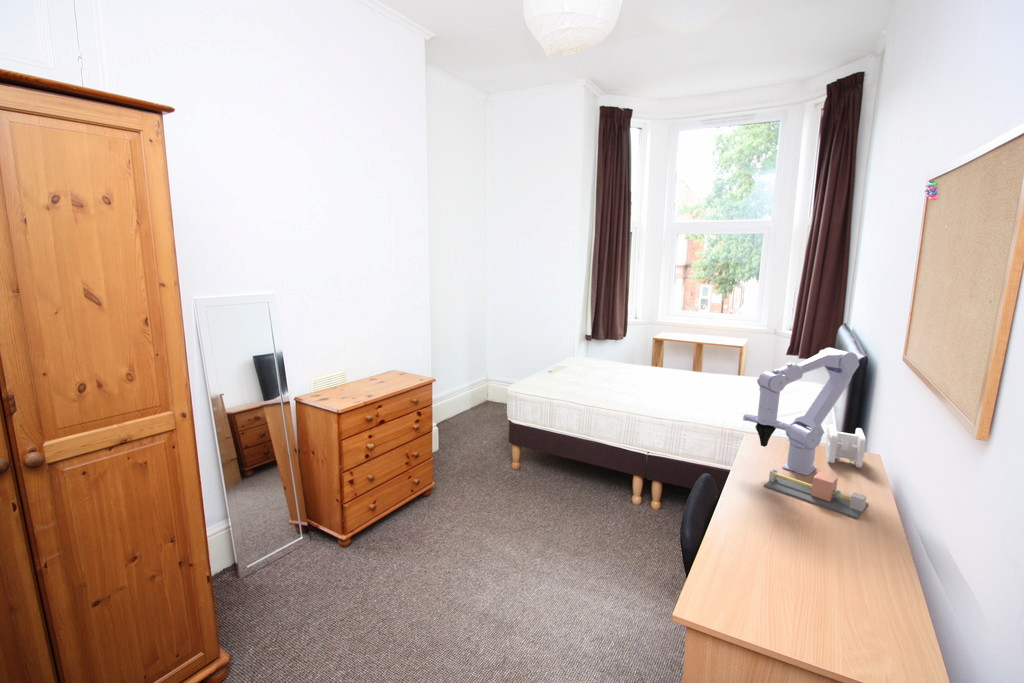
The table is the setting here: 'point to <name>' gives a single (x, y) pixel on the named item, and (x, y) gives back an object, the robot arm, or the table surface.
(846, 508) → the cord rig
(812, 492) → the marker sleeve
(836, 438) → the cable organizer
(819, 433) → the robot arm
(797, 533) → the table surface
